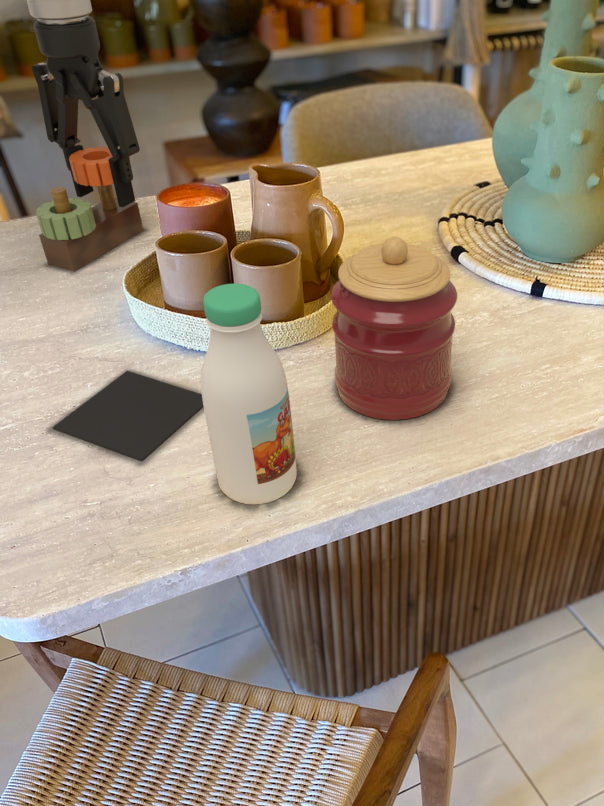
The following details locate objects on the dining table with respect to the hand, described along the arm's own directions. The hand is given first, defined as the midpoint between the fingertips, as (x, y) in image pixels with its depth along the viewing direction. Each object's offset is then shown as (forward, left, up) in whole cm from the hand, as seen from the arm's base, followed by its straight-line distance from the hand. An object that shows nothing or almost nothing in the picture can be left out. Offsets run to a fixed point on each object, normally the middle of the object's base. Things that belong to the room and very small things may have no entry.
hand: (106, 198), depth 112 cm
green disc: (0, -8, -1) cm, 8 cm away
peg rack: (0, -4, -6) cm, 7 cm away
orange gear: (0, 0, +3) cm, 3 cm away
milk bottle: (+50, -37, -6) cm, 63 cm away
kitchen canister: (+55, -17, -6) cm, 58 cm away
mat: (+32, -34, -6) cm, 47 cm away
